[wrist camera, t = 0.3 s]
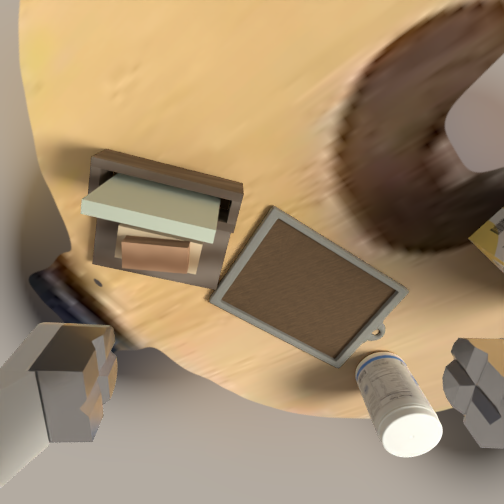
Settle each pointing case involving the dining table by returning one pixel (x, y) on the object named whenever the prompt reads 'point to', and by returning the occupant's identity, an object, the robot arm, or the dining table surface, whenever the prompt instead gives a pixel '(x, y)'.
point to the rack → (176, 177)
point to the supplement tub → (397, 405)
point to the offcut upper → (155, 254)
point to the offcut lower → (143, 232)
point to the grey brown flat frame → (307, 290)
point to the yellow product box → (491, 239)
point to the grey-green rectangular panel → (154, 207)
